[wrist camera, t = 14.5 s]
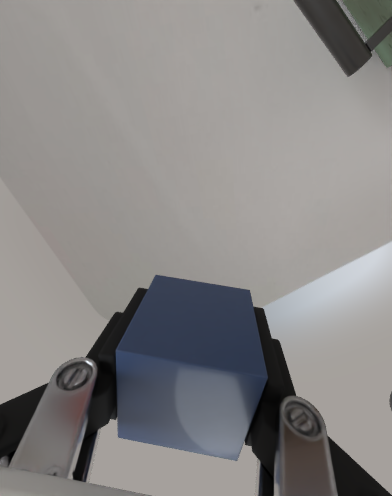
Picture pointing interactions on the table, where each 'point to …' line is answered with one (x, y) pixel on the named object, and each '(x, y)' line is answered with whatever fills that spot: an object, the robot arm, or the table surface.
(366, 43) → the drawer
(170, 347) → the block
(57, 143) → the table surface
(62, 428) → the robot arm
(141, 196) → the table surface
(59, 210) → the table surface
